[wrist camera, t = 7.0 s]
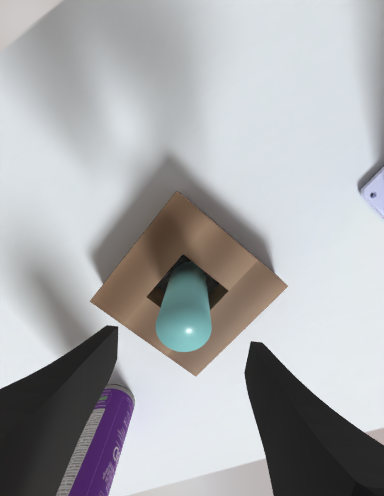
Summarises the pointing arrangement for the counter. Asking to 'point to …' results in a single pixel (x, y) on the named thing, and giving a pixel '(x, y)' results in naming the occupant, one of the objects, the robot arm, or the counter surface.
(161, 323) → the peg
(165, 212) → the socket block
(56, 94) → the counter surface
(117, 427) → the container
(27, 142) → the counter surface
